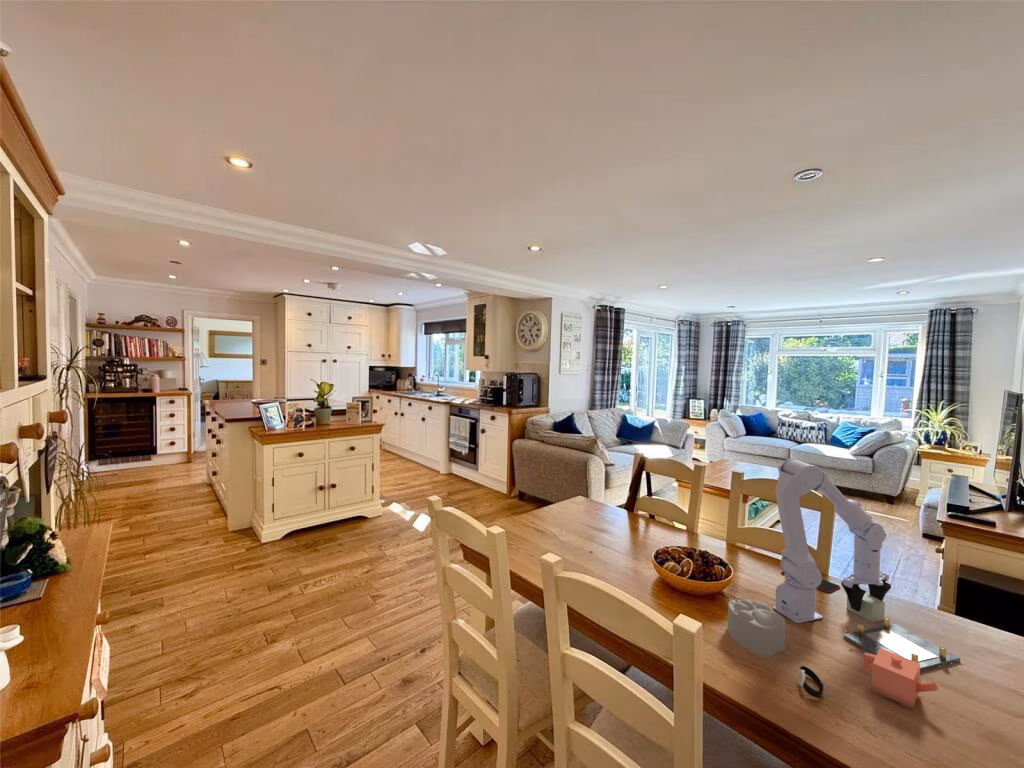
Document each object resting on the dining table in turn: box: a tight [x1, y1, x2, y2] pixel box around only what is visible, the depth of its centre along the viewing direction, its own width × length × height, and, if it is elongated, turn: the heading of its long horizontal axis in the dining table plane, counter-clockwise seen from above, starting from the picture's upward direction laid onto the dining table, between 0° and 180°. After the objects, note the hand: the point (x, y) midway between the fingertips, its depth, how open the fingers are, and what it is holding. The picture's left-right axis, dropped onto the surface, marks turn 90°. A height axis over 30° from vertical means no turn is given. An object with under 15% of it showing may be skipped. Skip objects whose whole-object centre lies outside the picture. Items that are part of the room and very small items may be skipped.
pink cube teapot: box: [863, 648, 940, 710], centre depth 92 cm, size 8×12×8 cm, turn 40°
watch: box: [796, 665, 824, 699], centre depth 95 cm, size 8×5×4 cm, turn 158°
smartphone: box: [780, 570, 841, 594], centre depth 141 cm, size 7×1×15 cm
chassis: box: [843, 617, 961, 673], centre depth 107 cm, size 18×14×4 cm
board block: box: [846, 592, 886, 623], centre depth 122 cm, size 4×7×5 cm, turn 14°
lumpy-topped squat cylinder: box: [727, 598, 786, 658], centre depth 111 cm, size 10×13×9 cm
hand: (865, 607), depth 122 cm, fingers open, 7 cm apart
